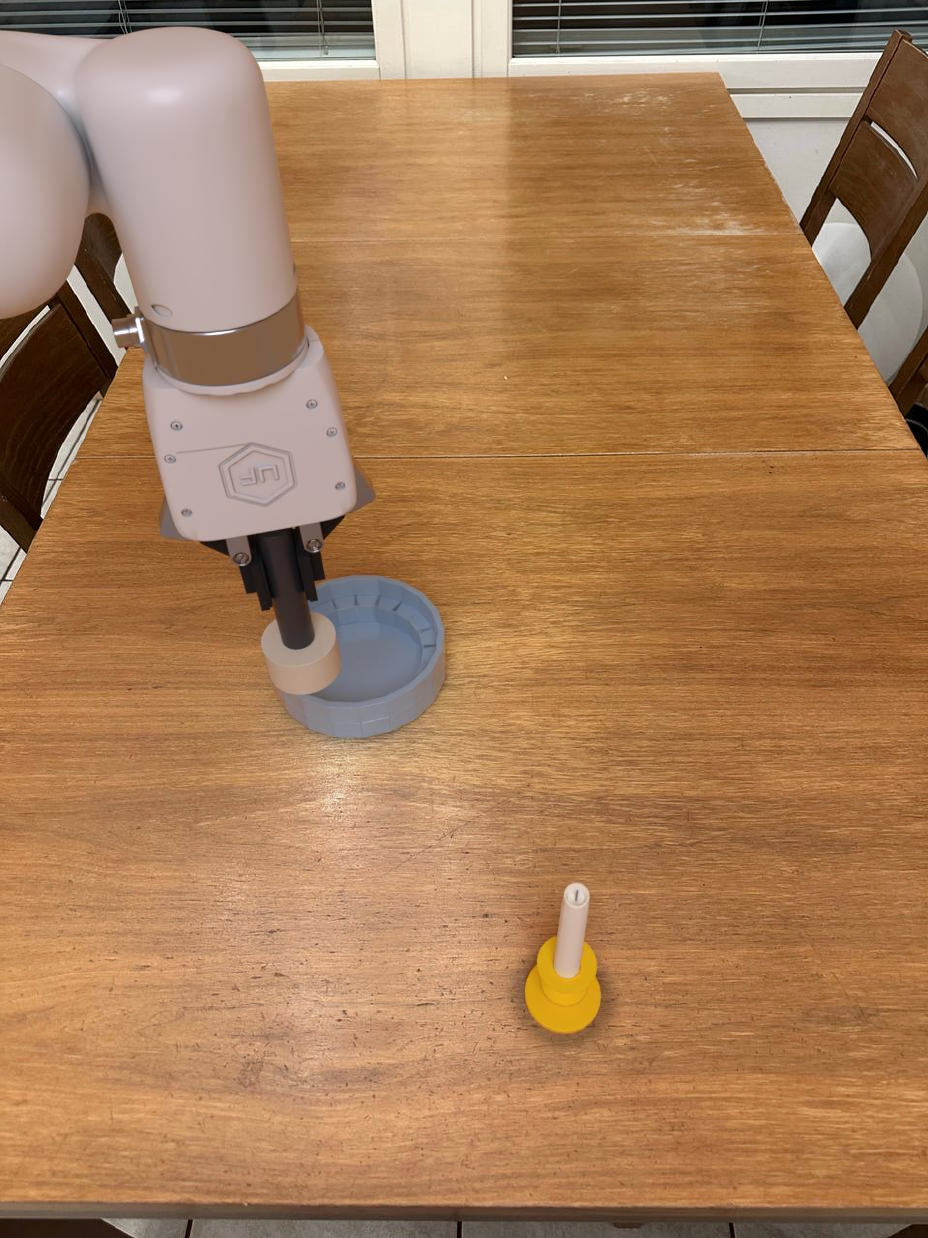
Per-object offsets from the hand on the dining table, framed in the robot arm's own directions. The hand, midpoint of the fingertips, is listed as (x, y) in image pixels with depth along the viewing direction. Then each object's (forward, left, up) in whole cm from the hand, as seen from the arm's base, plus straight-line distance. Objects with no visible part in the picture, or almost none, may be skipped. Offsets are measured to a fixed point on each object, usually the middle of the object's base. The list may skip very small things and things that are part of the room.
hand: (287, 589), depth 60 cm
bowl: (+4, +11, -23) cm, 26 cm away
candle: (+12, -21, -23) cm, 34 cm away
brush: (0, 0, -8) cm, 8 cm away
